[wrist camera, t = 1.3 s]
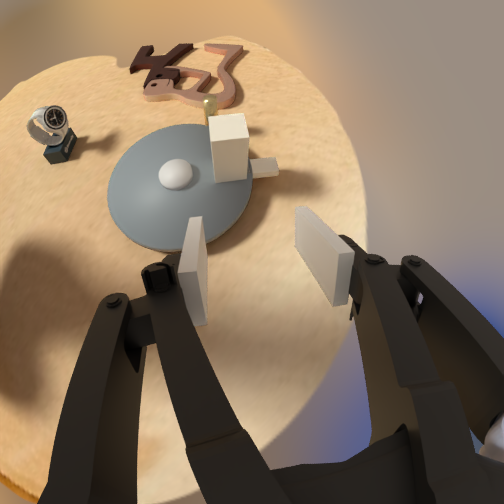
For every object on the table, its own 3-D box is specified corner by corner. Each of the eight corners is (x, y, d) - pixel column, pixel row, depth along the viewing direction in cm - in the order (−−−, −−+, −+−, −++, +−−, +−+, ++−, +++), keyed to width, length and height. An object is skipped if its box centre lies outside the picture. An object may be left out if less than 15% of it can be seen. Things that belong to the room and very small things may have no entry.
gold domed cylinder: (206, 135, 40) (202, 103, 33) (206, 127, 40) (203, 94, 34) (218, 135, 40) (216, 102, 33) (218, 126, 40) (217, 94, 34)
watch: (75, 159, 38) (47, 119, 27) (44, 165, 37) (15, 130, 27) (85, 136, 39) (62, 95, 29) (54, 142, 39) (30, 106, 29)
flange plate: (107, 262, 31) (71, 235, 22) (117, 143, 37) (97, 102, 28) (293, 234, 33) (311, 197, 25) (262, 120, 39) (267, 74, 31)
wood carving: (143, 52, 50) (96, 110, 42) (141, 46, 48) (93, 103, 40) (252, 53, 50) (230, 113, 42) (253, 46, 48) (230, 104, 40)
